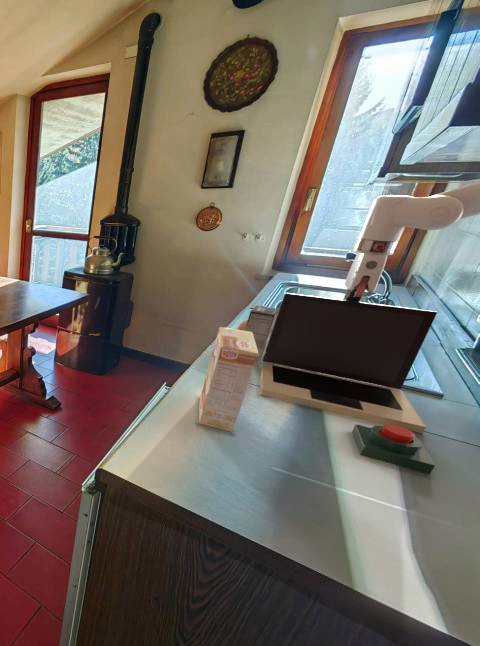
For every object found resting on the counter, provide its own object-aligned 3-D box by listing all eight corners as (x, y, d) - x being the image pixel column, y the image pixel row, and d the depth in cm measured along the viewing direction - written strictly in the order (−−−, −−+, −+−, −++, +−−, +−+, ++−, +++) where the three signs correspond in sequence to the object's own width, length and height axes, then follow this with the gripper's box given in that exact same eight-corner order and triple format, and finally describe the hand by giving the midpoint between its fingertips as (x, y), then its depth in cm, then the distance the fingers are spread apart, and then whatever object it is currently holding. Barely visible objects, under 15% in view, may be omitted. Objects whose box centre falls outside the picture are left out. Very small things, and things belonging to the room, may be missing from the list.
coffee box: (241, 350, 130) (255, 304, 124) (264, 356, 126) (280, 308, 120) (235, 359, 124) (250, 310, 117) (259, 364, 120) (276, 315, 113)
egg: (256, 344, 135) (264, 319, 132) (253, 349, 131) (262, 324, 127) (233, 339, 139) (241, 315, 136) (230, 344, 135) (238, 319, 131)
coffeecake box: (199, 396, 102) (218, 326, 94) (231, 403, 99) (254, 331, 91) (197, 424, 90) (219, 346, 82) (233, 433, 87) (260, 353, 79)
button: (407, 436, 80) (411, 428, 79) (413, 446, 77) (417, 439, 76) (378, 428, 82) (381, 421, 82) (383, 439, 79) (386, 431, 78)
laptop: (422, 433, 87) (426, 426, 86) (260, 394, 103) (262, 388, 102) (397, 395, 103) (401, 389, 102) (260, 366, 119) (262, 361, 118)
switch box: (414, 448, 82) (423, 432, 81) (429, 474, 75) (440, 458, 73) (351, 432, 87) (358, 417, 86) (359, 455, 80) (368, 439, 78)
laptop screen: (437, 312, 95) (436, 311, 96) (285, 293, 111) (285, 292, 111) (401, 389, 102) (400, 388, 103) (262, 361, 118) (262, 360, 118)
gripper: (402, 252, 92) (368, 324, 100) (388, 245, 104) (358, 310, 111) (360, 248, 96) (330, 318, 104) (350, 242, 108) (324, 305, 115)
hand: (345, 314), depth 108 cm, fingers closed
